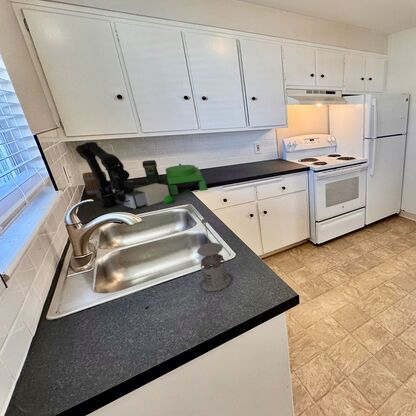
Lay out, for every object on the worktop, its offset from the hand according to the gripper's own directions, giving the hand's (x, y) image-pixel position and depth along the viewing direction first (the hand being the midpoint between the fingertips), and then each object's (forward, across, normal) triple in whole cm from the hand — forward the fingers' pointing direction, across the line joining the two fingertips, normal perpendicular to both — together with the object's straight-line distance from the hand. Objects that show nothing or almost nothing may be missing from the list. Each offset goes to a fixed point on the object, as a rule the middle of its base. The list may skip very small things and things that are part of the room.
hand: (123, 202), depth 162 cm
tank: (+5, +9, -50) cm, 51 cm away
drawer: (+4, 0, -7) cm, 8 cm away
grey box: (+5, 0, -18) cm, 18 cm away
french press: (+5, -107, +26) cm, 110 cm away
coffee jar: (+5, +44, -45) cm, 63 cm away
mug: (+5, +57, -12) cm, 58 cm away
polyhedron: (+5, -13, -20) cm, 24 cm away
